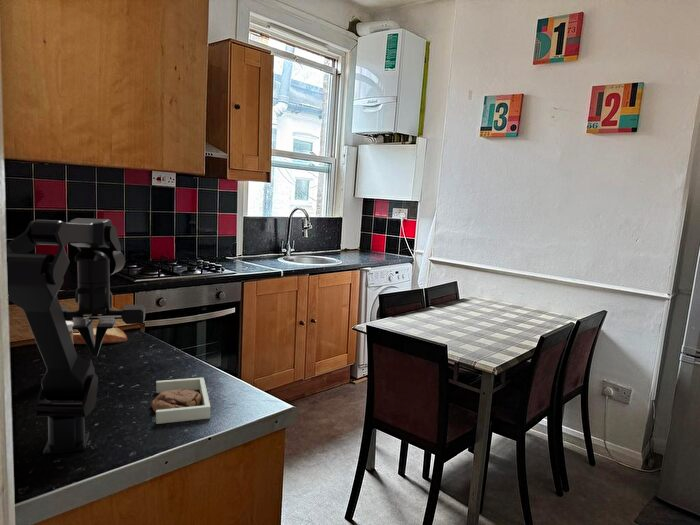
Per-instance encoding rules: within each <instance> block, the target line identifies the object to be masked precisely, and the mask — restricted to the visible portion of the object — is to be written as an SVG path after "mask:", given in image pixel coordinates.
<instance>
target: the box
mask: <svg viewBox="0 0 700 525" xmlns="http://www.w3.org/2000/svg"><path fill="white" fill-rule="evenodd" d="M204 378H205V377H192V378H191V377H190V378H177V379H169V380H168V379H166V380H156V383H155V384H156V387H155V389H156V391H155V392H156V394H160V393H161V392H162V391H166V390H178V389H185V390H189V389H190V390H194V391H197V390H199V392H200V393H199V394H200V395H201V396H202V404H201V405H200V406H193V407H182V408H172V409H162V410H156V412H155V424H156V425H158V424H159V425H160V424H167V423H178V422H186V421H187V422H188V421H196V420H205V419H207V420H208V419H211V402H210V398H209V394H208V390H207V386H206V382H205V379H204Z"/></svg>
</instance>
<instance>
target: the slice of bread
mask: <svg viewBox="0 0 700 525" xmlns="http://www.w3.org/2000/svg"><path fill="white" fill-rule="evenodd" d="M93 332H94V339H96V327H93ZM127 341H128V336H127V334H126V333H125V332H124V331H123V330H122V329H120V328H119V327H113V328H111V329H107V331H106V333H105V335H104V338H103V341H102V344H101V345H104V344H119V343H122V342H127ZM73 342H74V344H75V345H87V344H86V342H85V340H84V339H83V337H82V336H81V334H80V333H73Z"/></svg>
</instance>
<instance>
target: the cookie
mask: <svg viewBox="0 0 700 525" xmlns="http://www.w3.org/2000/svg"><path fill="white" fill-rule="evenodd" d="M202 405H203V404H202V396H201V394H200V393H199V392H198V391H197V390H190V389H189V390H185V389H178V390H166V391H162V392H161V393H158V395H157V396H156V397H155V398H154V399H153V400H152V401H151V402H150V407H151V408H152V410H153V412H154V413H156V410H162V409H172V408H182V407H193V406H202Z"/></svg>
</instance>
